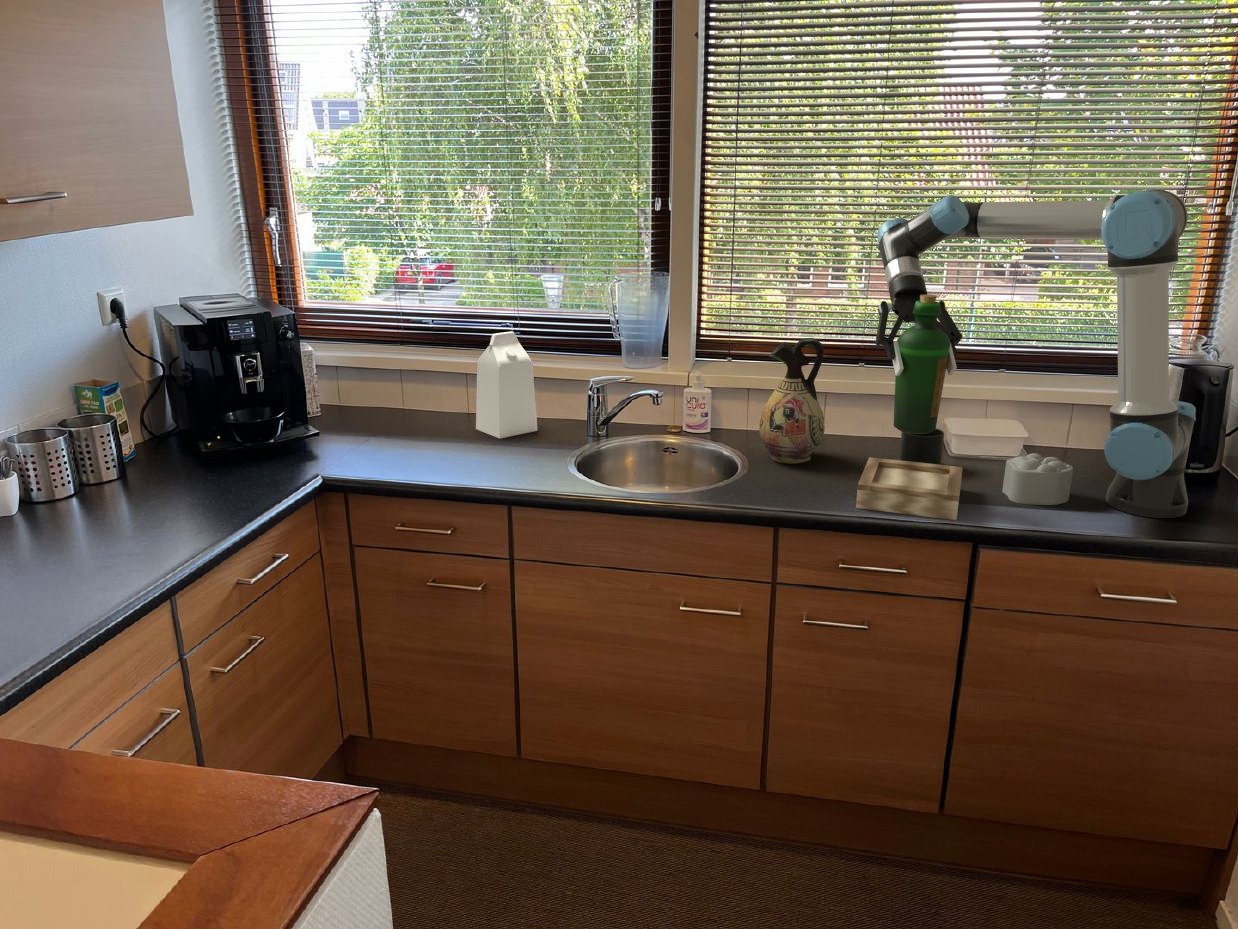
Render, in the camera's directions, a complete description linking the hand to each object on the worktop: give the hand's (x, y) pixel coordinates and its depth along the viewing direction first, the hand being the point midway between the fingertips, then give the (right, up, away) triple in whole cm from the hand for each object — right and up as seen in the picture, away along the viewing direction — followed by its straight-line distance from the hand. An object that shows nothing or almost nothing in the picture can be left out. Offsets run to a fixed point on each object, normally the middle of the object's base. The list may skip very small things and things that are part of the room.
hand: (926, 371), depth 196 cm
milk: (-92, -10, +61) cm, 111 cm away
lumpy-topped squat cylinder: (+28, -26, +13) cm, 40 cm away
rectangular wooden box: (0, -26, +11) cm, 28 cm away
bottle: (0, -12, +7) cm, 14 cm away
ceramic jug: (-20, -18, +38) cm, 46 cm away
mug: (+8, -19, +33) cm, 39 cm away
